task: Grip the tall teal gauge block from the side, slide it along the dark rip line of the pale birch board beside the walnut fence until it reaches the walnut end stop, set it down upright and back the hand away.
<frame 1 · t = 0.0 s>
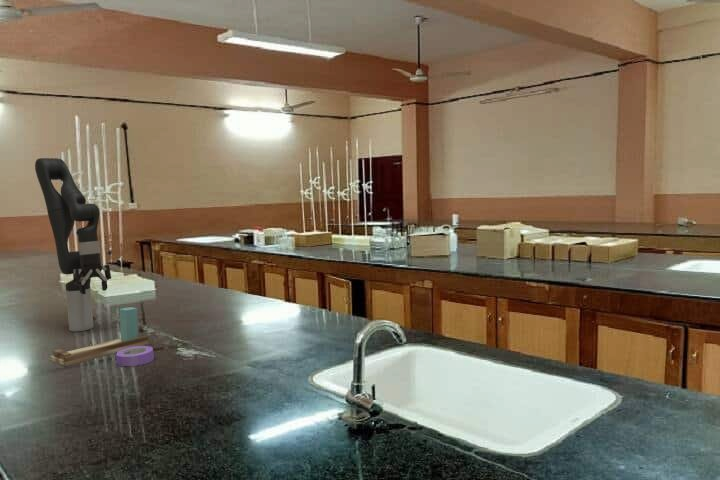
hand: (94, 292, 219), 17 cm above the table, tool pointing down, fingers open, 8 cm apart
gauge block: (129, 339, 204), point 2 cm above the table, touching board
board: (101, 351, 196), on the table
masking tape: (135, 362, 184), on the table
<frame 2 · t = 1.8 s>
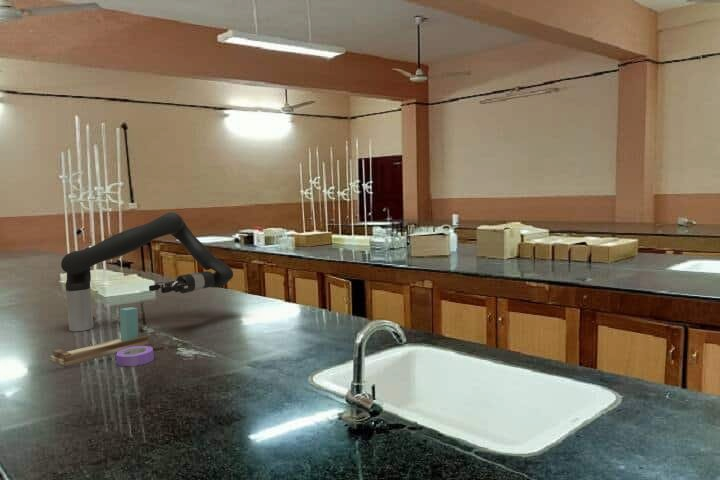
hand: (155, 289, 212), 19 cm above the table, tool horizontal, fingers open, 8 cm apart
nothing on the table moved.
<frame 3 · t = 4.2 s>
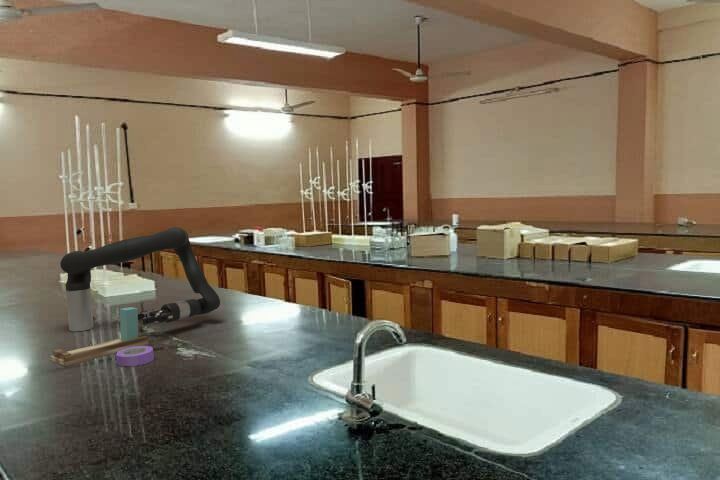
hand: (139, 319, 207), 8 cm above the table, tool horizontal, fingers open, 8 cm apart
nothing on the table moved.
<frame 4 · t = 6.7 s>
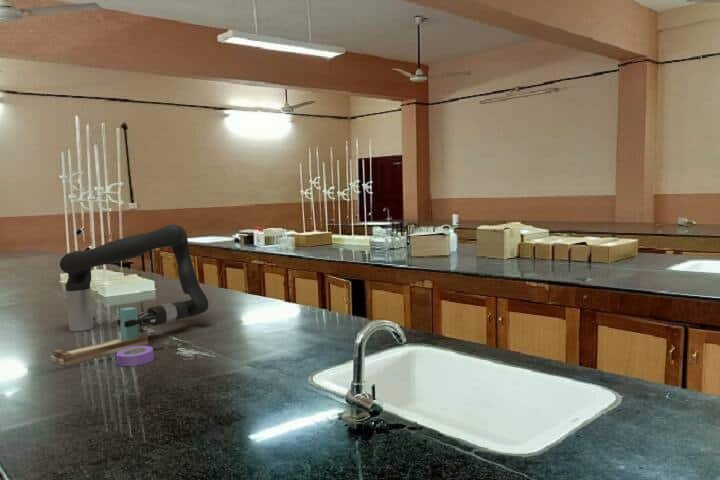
hand: (121, 323, 201), 8 cm above the table, tool horizontal, fingers closed on gauge block, 4 cm apart
gauge block: (129, 339, 204), point 2 cm above the table, touching board, gripper
everything else where it was.
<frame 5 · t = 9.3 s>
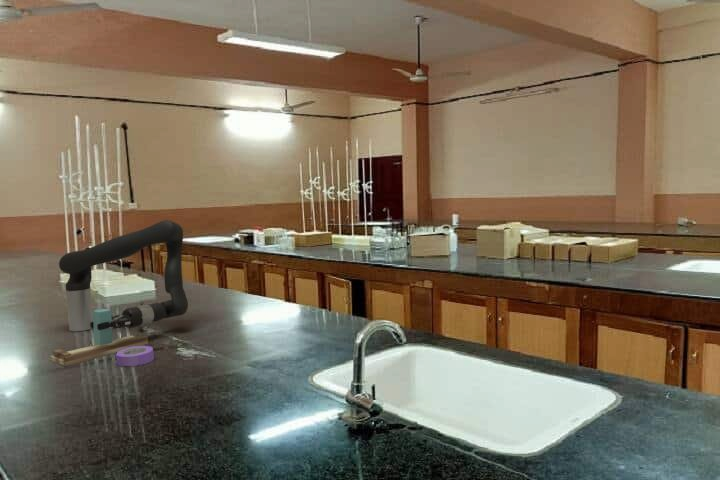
hand: (94, 326, 193), 10 cm above the table, tool horizontal, fingers closed on gauge block, 4 cm apart
gauge block: (103, 343, 196), point 3 cm above the table, touching gripper
everything else where it was.
when the fingers open (9 cm above the table, at t = 12.2 s): gauge block stays where it is, resting on board.
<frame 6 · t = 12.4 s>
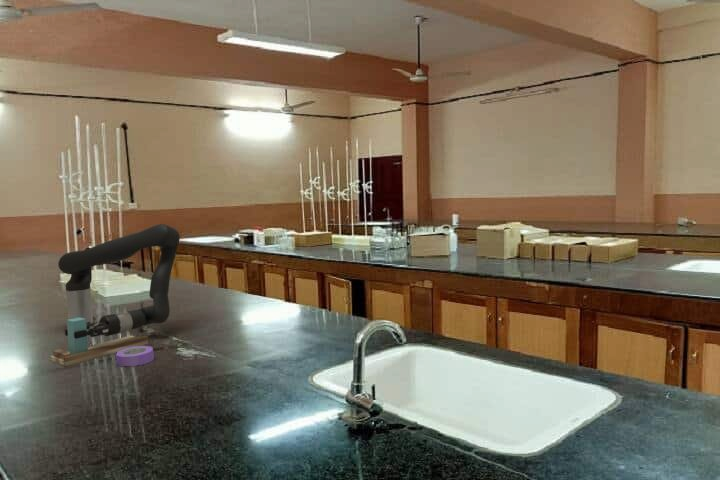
hand: (69, 334, 186), 9 cm above the table, tool horizontal, fingers open, 6 cm apart
gauge block: (78, 353, 189), point 2 cm above the table, touching board
everything else where it was.
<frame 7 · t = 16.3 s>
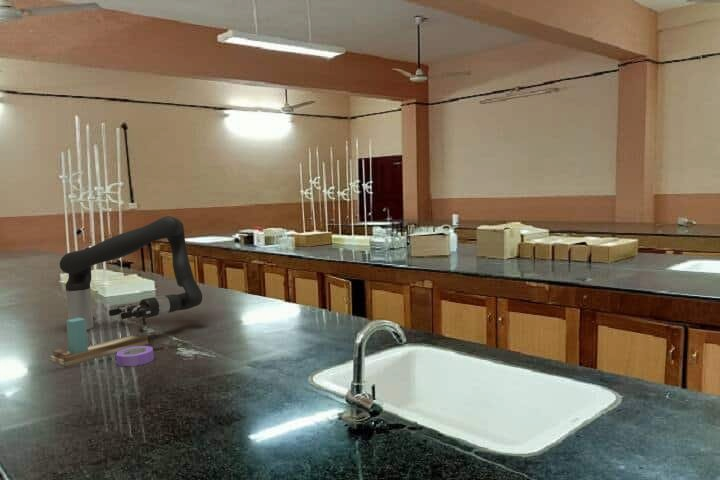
hand: (115, 314, 199), 12 cm above the table, tool horizontal, fingers open, 8 cm apart
nothing on the table moved.
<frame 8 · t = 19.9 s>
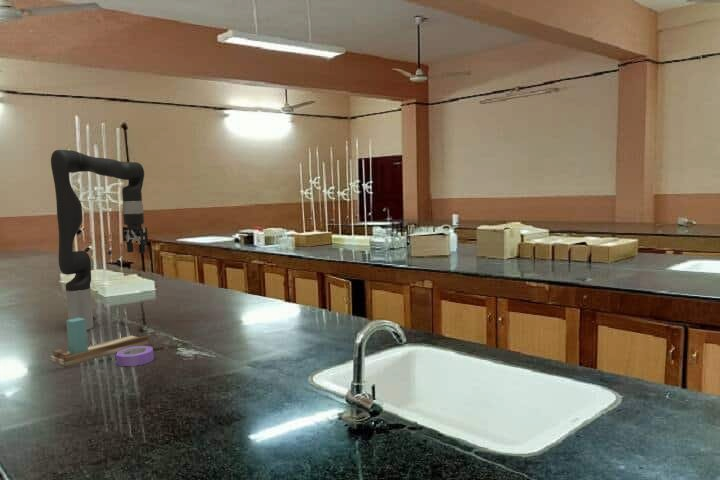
hand: (136, 252, 216), 33 cm above the table, tool pointing down, fingers open, 8 cm apart
nothing on the table moved.
at the end: gauge block 0.1 cm from the target spot, point 1.6 cm above the table; gauge block tilted 0°; the gripper is holding nothing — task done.
